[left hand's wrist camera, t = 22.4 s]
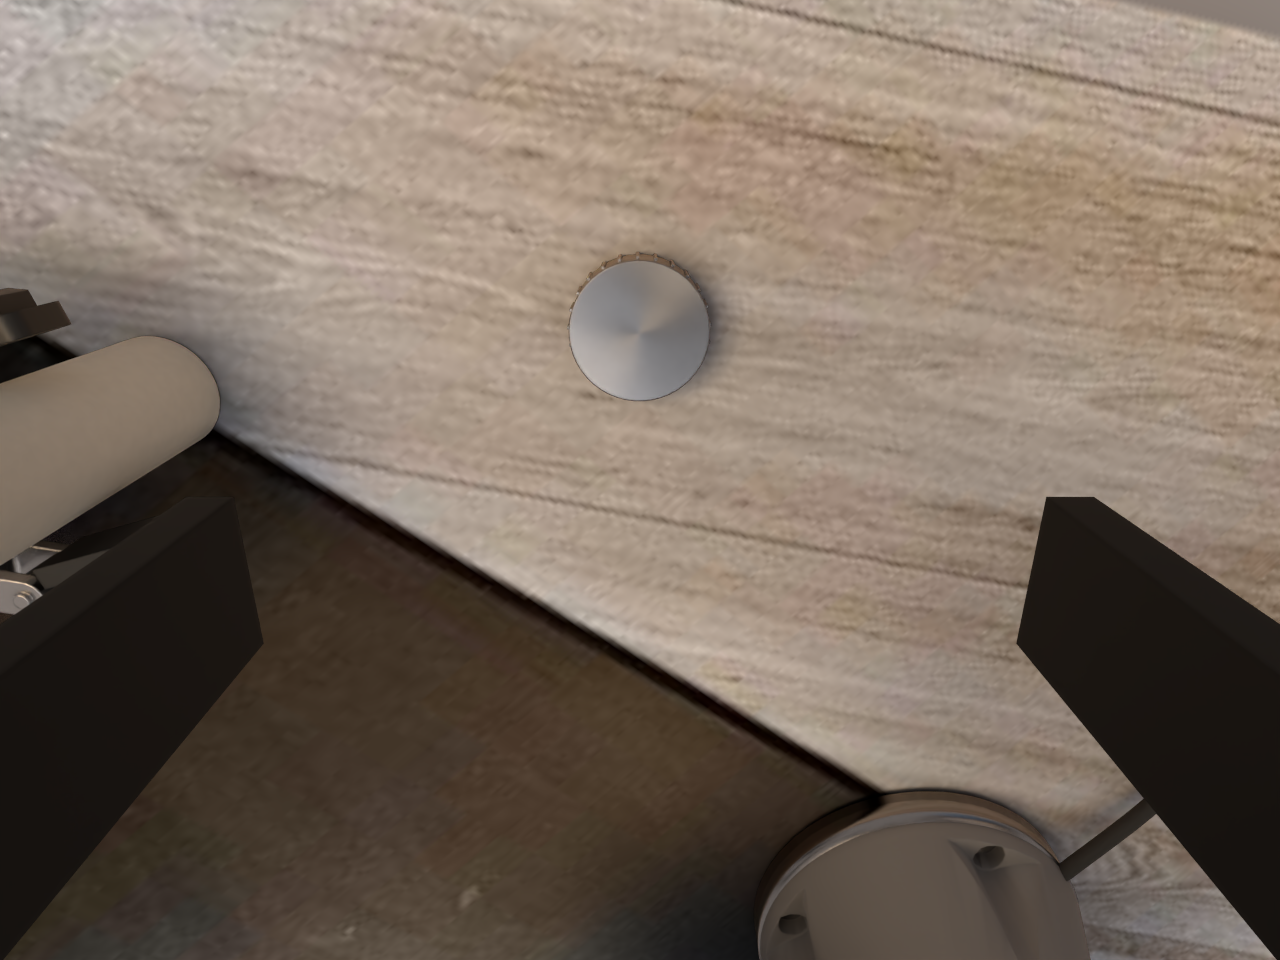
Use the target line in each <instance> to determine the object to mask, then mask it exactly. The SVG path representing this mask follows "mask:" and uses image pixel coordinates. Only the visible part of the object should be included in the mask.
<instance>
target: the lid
mask: <svg viewBox="0 0 1280 960" xmlns="http://www.w3.org/2000/svg"><path fill="white" fill-rule="evenodd" d="M699 292H701V290H700V288H699V286H698V284H697V283H696V284H694V282H693V281H692V280H691V278H690V276H689V274H688V272H687V271H686V270H684V271H683V270H682V269H680V268H679V267H678V266H676V265H675V264H674V262H673V260H670V261H667V260H665V259H663V258H660V257H657V254H654V255H646V254H639V252H636V254H633V255H626V256H622V254H621V255H619V256H618V258H616V259H614V260H611V261H609V262H607V263H606V262H605V261H604V262H603V263H602V265H601V267H600V268H598V269H597V270H596V271H595V272H594V273H592V272H590V273H589V275H588V277H587V281H586V282H585V283H584V285H583V286H582V287H581V286H580V287H579V289H578V291H577V293H576V295H578V296H577V298H576V300H575V302H573V304H572V306H571V308H570V312H571V315H570V320H569V324H568V326H567V329H569V340H570V344H569V345H570V347H571V350H572V353H573V356H574V358H575V361H576V363H577V365H578V366H579V368H580V369H581V371H582V372H583V374H584V375H585V376H586V377H587V379H589V380H590V381H591V382H592V383H593V384H594V385H595V386H596V387H598V388H599V389H601V390H602V391H604V392H606V393H608V394H609V395H612V396H614V397H617V398H621V399H624V400H631V401H648V400H654V399H658V398H662V397H664V396H667V395H669V394H671V393H673V392H675V391H677V390H678V389H680V388H681V387H682V386H684V385H685V384H686V383H687V382H688V381H689V380H690V379H691V378H692V377H693V376H694V375H695V373H696V372H697V371H698V369H699V367H700V366H701V364H702V362H703V360H704V359H705V355H706V352H707V349H708V345H709V344H710V326H711V322H710V319H709V317H708V312H707V308H708V305H707V303H706V301H705V299H702V297H701V295H700V293H699Z"/></svg>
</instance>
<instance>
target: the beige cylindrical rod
mask: <svg viewBox="0 0 1280 960" xmlns="http://www.w3.org/2000/svg"><path fill="white" fill-rule="evenodd" d="M219 410H220V397H219V391H218V388H217V385H216V382H215V380H214V378H213V376H212V374H211V372H210V371H209V369H208V368H207V367H206V365H205V364H204V363H203V362H202V361H201V360H200V359H199V358H198V357H197V356H196V355H195V354H194V353H193V352H191V351H190V350H188V349H187V348H185V347H184V346H182V345H180V344H178V343H176V342H174V341H171V340H168V339H165V338H161V337H155V336H140V337H135V338H131V339H129V340H126V341H123V342H120V343H117V344H114V345H111V346H108V347H105V348H102V349H99V350H96V351H94V352H91V353H88V354H85V355H82V356H79V357H76V358H73V359H70V360H67V361H64V362H61V363H59V364H56V365H53V366H50V367H47V368H44V369H41V370H38V371H35V372H32V373H29V374H27V375H24V376H21V377H18V378H15V379H12V380H9V381H6V382H3V383H0V565H2V564H4V563H5V562H7V561H8V560H10V559H12V558H13V557H15V556H16V555H18V554H20V553H21V552H23V551H24V550H26V549H27V548H29V547H31V546H32V545H34V544H35V543H37V542H39V541H40V540H42V539H43V538H45V537H47V536H48V535H50V534H51V533H53V532H55V531H56V530H58V529H59V528H61V527H63V526H64V525H66V524H67V523H69V522H71V521H72V520H74V519H75V518H77V517H78V516H80V515H82V514H83V513H85V512H86V511H88V510H90V509H91V508H93V507H94V506H96V505H98V504H99V503H101V502H102V501H104V500H106V499H107V498H109V497H110V496H112V495H114V494H115V493H117V492H118V491H120V490H121V489H123V488H125V487H126V486H128V485H129V484H131V483H133V482H134V481H136V480H137V479H139V478H141V477H142V476H144V475H145V474H147V473H149V472H150V471H152V470H153V469H155V468H157V467H158V466H160V465H161V464H163V463H165V462H166V461H168V460H169V459H171V458H172V457H174V456H176V455H177V454H179V453H180V452H182V451H184V450H185V449H187V448H188V447H190V446H192V445H193V444H195V443H196V442H198V441H200V440H201V439H202V438H204V437H205V436H206V435H207V434H208V433H209V432H210V431H211V430H212V428H213V427H214V425H215V423H216V421H217V419H218V415H219Z"/></svg>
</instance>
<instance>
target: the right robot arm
mask: <svg viewBox="0 0 1280 960" xmlns="http://www.w3.org/2000/svg"><path fill="white" fill-rule="evenodd" d="M68 325H71V322H70V320H69V319H68V317H67V315H66V313H65V312H64V310H63V308H62V306H61V305H60V303H59V301H56V302H51V303H47V304H43V305H39V306H37V305H36V303H35V301H34V300H33V298H32V296H31V294H30V293H29V291H28V290H24V289H13V288H6V289H1V290H0V347H1V346H4V345H7V344H11V343H14V342H17V341H20V340H23V339H26V338H30V337H33V336H36V335H39V334H42V333H46V332H49V331H52V330H55V329H58V328H61V327H65V326H68ZM156 517H158V516H155V517H152V518H148V519H145V520H141V521H138V522H134V523H131V524H127V525H124V526H120V527H116V528H113V529H109V530H106V531H102V532H99V533H95V534H92V535H88V536H85V537H81V538H80V539H78V540H77V541H76V542H74V543H73V544H71V545H70V544H64V543H58V542H52V541H46V540H40V541H39V542H37V543H35V544H34V545H32V546H31V547H29V548H27V549H26V550H24V551H23V552H21V553H20V554H18V555H16V556H15V557H13V558H12V559H10V560H8V561H7V562H5V563H4V564H2V565H0V612H2V613H8V614H16V613H18V612H19V611H20V610H22V609H23V608H25V607H26V606H28V605H29V604H31V603H32V602H34V601H35V600H36V599H38V598H39V597H41V596H42V595H44V594H45V593H47V592H48V591H50V590H51V589H53V588H54V587H55V586H57V585H58V584H60V583H61V582H63V581H64V580H66V579H67V578H69V577H70V576H72V575H73V574H74V573H76V572H77V571H79V570H80V569H82V568H83V567H85V566H86V565H88V564H89V563H91V562H92V561H93V560H95V559H96V558H98V557H99V556H101V555H102V554H104V553H105V552H107V551H108V550H109V549H111V548H112V547H114V546H115V545H117V544H118V543H120V542H121V541H123V540H124V539H126V538H127V537H128V536H130V535H131V534H133V533H134V532H136V531H137V530H139V529H140V528H142V527H143V526H145V525H146V524H147V523H149V522H150V521H152V520H153V519H155V518H156Z"/></svg>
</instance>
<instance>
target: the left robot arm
mask: <svg viewBox="0 0 1280 960" xmlns="http://www.w3.org/2000/svg"><path fill="white" fill-rule="evenodd" d="M263 644H264V643H263V638H262V633H261V628H260V624H259V619H258V614H257V609H256V604H255V599H254V594H253V589H252V584H251V580H250V575H249V570H248V565H247V560H246V555H245V550H244V545H243V541H242V536H241V531H240V526H239V521H238V516H237V511H236V506H235V501H234V497H185V498H184V499H182V500H181V501H180V502H178V503H177V504H175V505H174V506H172V507H171V508H169V509H168V510H166V511H165V512H164V513H162V514H161V515H159V516H158V517H156V518H155V519H153V520H152V521H150V522H149V523H147V524H146V525H145V526H143V527H142V528H140V529H139V530H137V531H136V532H134V533H133V534H131V535H130V536H128V537H127V538H126V539H124V540H123V541H121V542H120V543H118V544H117V545H115V546H114V547H112V548H111V549H109V550H108V551H107V552H105V553H104V554H102V555H101V556H99V557H98V558H96V559H95V560H93V561H92V562H91V563H89V564H88V565H86V566H85V567H83V568H82V569H80V570H79V571H77V572H76V573H74V574H73V575H72V576H70V577H69V578H67V579H66V580H64V581H63V582H61V583H60V584H58V585H57V586H55V587H54V588H53V589H51V590H50V591H48V592H47V593H45V594H44V595H42V596H41V597H39V598H38V599H36V600H35V601H34V602H32V603H31V604H29V605H28V606H26V607H25V608H23V609H22V610H20V611H19V612H18V613H16V614H15V615H13V616H12V617H10V618H9V619H7V620H6V621H4V622H3V623H1V624H0V960H3V959H4V958H5V957H6V956H7V954H8V953H9V952H10V951H11V950H12V948H13V947H14V946H15V945H16V944H17V942H18V941H19V940H20V939H21V937H22V936H23V935H24V934H25V933H26V931H27V930H28V929H29V928H30V927H31V925H32V924H33V923H34V922H35V920H36V919H37V918H38V917H39V916H40V914H41V913H42V912H43V911H44V910H45V908H46V907H47V906H48V905H49V903H50V902H51V901H52V900H53V899H54V897H55V896H56V895H57V894H58V893H59V891H60V890H61V889H62V888H63V886H64V885H65V884H66V883H67V882H68V880H69V879H70V878H71V877H72V876H73V874H74V873H75V872H76V871H77V869H78V868H79V867H80V866H81V865H82V863H83V862H84V861H85V860H86V859H87V857H88V856H89V855H90V854H91V852H92V851H93V850H94V849H95V848H96V846H97V845H98V844H99V843H100V842H101V840H102V839H103V838H104V837H105V835H106V834H107V833H108V832H109V831H110V829H111V828H112V827H113V826H114V825H115V823H116V822H117V821H118V820H119V818H120V817H121V816H122V815H123V814H124V812H125V811H126V810H127V809H128V807H129V806H130V805H131V804H132V803H133V801H134V800H135V799H136V798H137V797H138V795H139V794H140V793H141V792H142V790H143V789H144V788H145V787H146V786H147V784H148V783H149V782H150V781H151V780H152V778H153V777H154V776H155V775H156V773H157V772H158V771H159V770H160V769H161V767H162V766H163V765H164V764H165V763H166V761H167V760H168V759H169V758H170V756H171V755H172V754H173V753H174V752H175V750H176V749H177V748H178V747H179V746H180V744H181V743H182V742H183V741H184V739H185V738H186V737H187V736H188V735H189V733H190V732H191V731H192V730H193V729H194V727H195V726H196V725H197V724H198V722H199V721H200V720H201V719H202V718H203V716H204V715H205V714H206V713H207V712H208V710H209V709H210V708H211V707H212V705H213V704H214V703H215V702H216V701H217V699H218V698H219V697H220V696H221V695H222V693H223V692H224V691H225V690H226V688H227V687H228V686H229V685H230V684H231V682H232V681H233V680H234V679H235V678H236V676H237V675H238V674H239V673H240V671H241V670H242V669H243V668H244V667H245V665H246V664H247V663H248V662H249V661H250V659H251V658H252V657H253V656H254V654H255V653H256V652H257V651H258V650H259V648H260V647H261V646H262V645H263ZM1016 644H1017V645H1018V646H1019V647H1020V648H1021V650H1022V651H1023V652H1024V653H1025V654H1026V656H1027V657H1028V658H1029V659H1030V661H1031V662H1032V663H1033V664H1034V665H1035V667H1036V668H1037V669H1038V670H1039V671H1040V673H1041V674H1042V675H1043V676H1044V678H1045V679H1046V680H1047V681H1048V682H1049V684H1050V685H1051V686H1052V687H1053V688H1054V690H1055V691H1056V692H1057V693H1058V695H1059V696H1060V697H1061V698H1062V699H1063V701H1064V702H1065V703H1066V704H1067V705H1068V707H1069V708H1070V709H1071V710H1072V712H1073V713H1074V714H1075V715H1076V716H1077V718H1078V719H1079V720H1080V721H1081V722H1082V724H1083V725H1084V726H1085V727H1086V729H1087V730H1088V731H1089V732H1090V733H1091V735H1092V736H1093V737H1094V738H1095V739H1096V741H1097V742H1098V743H1099V744H1100V746H1101V747H1102V748H1103V749H1104V750H1105V752H1106V753H1107V754H1108V755H1109V756H1110V758H1111V759H1112V760H1113V761H1114V763H1115V764H1116V765H1117V766H1118V767H1119V769H1120V770H1121V771H1122V772H1123V773H1124V775H1125V776H1126V777H1127V778H1128V780H1129V781H1130V782H1131V783H1132V784H1133V786H1134V787H1135V788H1136V789H1137V790H1138V792H1139V793H1140V794H1141V795H1142V797H1143V798H1144V799H1143V800H1142V801H1141V802H1139V803H1138V804H1137V805H1136V806H1135V807H1133V808H1132V809H1131V810H1130V811H1128V812H1127V813H1126V814H1125V815H1123V816H1122V817H1121V818H1120V819H1118V820H1117V821H1116V822H1114V823H1113V824H1112V825H1110V826H1109V827H1108V828H1106V829H1105V830H1104V831H1102V832H1101V833H1100V834H1099V835H1097V836H1096V837H1094V838H1093V839H1092V840H1090V841H1089V842H1088V843H1086V844H1085V845H1084V846H1082V847H1081V848H1080V849H1078V850H1077V851H1076V852H1074V853H1073V854H1072V855H1070V856H1069V857H1068V858H1066V859H1065V860H1064V861H1062V862H1061V863H1060V862H1059V860H1058V859H1057V857H1056V855H1055V854H1054V852H1053V850H1052V849H1051V847H1050V846H1049V844H1048V843H1047V841H1046V840H1045V838H1044V837H1043V836H1042V835H1041V834H1040V833H1039V832H1038V830H1037V829H1036V828H1034V827H1033V826H1032V825H1031V824H1030V823H1029V822H1028V821H1026V820H1025V819H1023V818H1022V817H1020V816H1019V815H1017V814H1016V813H1014V812H1012V811H1010V810H1008V809H1007V808H1005V807H1002V806H1000V805H998V804H995V803H993V802H990V801H987V800H984V799H981V798H977V797H973V796H968V795H964V794H957V793H950V792H936V791H920V792H906V793H897V794H891V795H885V796H880V797H876V798H872V799H868V800H865V801H862V802H858V803H855V804H852V805H850V806H847V807H845V808H842V809H840V810H838V811H835V812H833V813H831V814H829V815H827V816H825V817H823V818H822V819H820V820H818V821H817V822H815V823H814V824H812V825H810V826H809V827H807V828H806V829H805V830H803V831H802V832H801V833H799V834H798V835H797V836H796V837H795V838H793V839H792V840H791V841H790V842H789V843H788V844H787V845H786V846H785V847H784V848H783V849H782V850H781V851H780V852H779V853H778V855H777V856H776V857H775V858H774V860H773V861H772V862H771V864H770V865H769V867H768V869H767V870H766V872H765V874H764V876H763V878H762V880H761V882H760V884H759V887H758V891H757V894H756V898H755V904H754V925H755V932H756V939H757V946H758V952H759V959H760V960H1091V959H1090V955H1089V950H1088V946H1087V941H1086V936H1085V932H1084V927H1083V922H1082V918H1081V913H1080V908H1079V905H1078V899H1077V896H1076V893H1075V889H1074V887H1073V885H1072V883H1071V881H1070V879H1071V878H1073V877H1074V876H1075V875H1077V874H1078V873H1080V872H1081V871H1082V870H1084V869H1085V868H1086V867H1088V866H1089V865H1090V864H1092V863H1093V862H1094V861H1096V860H1097V859H1098V858H1100V857H1101V856H1102V855H1104V854H1105V853H1107V852H1108V851H1109V850H1111V849H1112V848H1113V847H1115V846H1116V845H1117V844H1119V843H1120V842H1121V841H1123V840H1124V839H1125V838H1126V837H1128V836H1129V835H1130V834H1132V833H1133V832H1134V831H1136V830H1137V829H1138V828H1139V827H1141V826H1142V825H1143V824H1144V823H1146V822H1147V821H1148V820H1149V819H1150V818H1152V817H1153V816H1154V815H1155V814H1157V815H1158V816H1159V817H1160V818H1161V820H1162V821H1163V822H1164V823H1165V825H1166V826H1167V827H1168V828H1169V829H1170V831H1171V832H1172V833H1173V834H1174V835H1175V837H1176V838H1177V839H1178V840H1179V842H1180V843H1181V844H1182V845H1183V846H1184V848H1185V849H1186V850H1187V851H1188V852H1189V854H1190V855H1191V856H1192V857H1193V859H1194V860H1195V861H1196V862H1197V863H1198V865H1199V866H1200V867H1201V868H1202V869H1203V871H1204V872H1205V873H1206V874H1207V876H1208V877H1209V878H1210V879H1211V880H1212V882H1213V883H1214V884H1215V885H1216V886H1217V888H1218V889H1219V890H1220V891H1221V893H1222V894H1223V895H1224V896H1225V897H1226V899H1227V900H1228V901H1229V902H1230V903H1231V905H1232V906H1233V907H1234V908H1235V910H1236V911H1237V912H1238V913H1239V914H1240V916H1241V917H1242V918H1243V919H1244V920H1245V922H1246V923H1247V924H1248V925H1249V927H1250V928H1251V929H1252V930H1253V931H1254V933H1255V934H1256V935H1257V936H1258V937H1259V939H1260V940H1261V941H1262V942H1263V944H1264V945H1265V946H1266V947H1267V948H1268V950H1269V951H1270V952H1271V953H1272V954H1273V956H1274V957H1275V958H1276V959H1277V960H1280V624H1279V623H1277V622H1276V621H1274V620H1273V619H1271V618H1270V617H1268V616H1267V615H1265V614H1264V613H1262V612H1261V611H1260V610H1258V609H1257V608H1255V607H1254V606H1252V605H1251V604H1249V603H1248V602H1246V601H1245V600H1244V599H1242V598H1241V597H1239V596H1238V595H1236V594H1235V593H1233V592H1232V591H1230V590H1229V589H1227V588H1226V587H1225V586H1223V585H1222V584H1220V583H1219V582H1217V581H1216V580H1214V579H1213V578H1211V577H1210V576H1208V575H1207V574H1206V573H1204V572H1203V571H1201V570H1200V569H1198V568H1197V567H1195V566H1194V565H1192V564H1191V563H1189V562H1188V561H1187V560H1185V559H1184V558H1182V557H1181V556H1179V555H1178V554H1176V553H1175V552H1173V551H1172V550H1171V549H1169V548H1168V547H1166V546H1165V545H1163V544H1162V543H1160V542H1159V541H1157V540H1156V539H1154V538H1153V537H1152V536H1150V535H1149V534H1147V533H1146V532H1144V531H1143V530H1141V529H1140V528H1138V527H1137V526H1135V525H1134V524H1133V523H1131V522H1130V521H1128V520H1127V519H1125V518H1124V517H1122V516H1121V515H1119V514H1118V513H1116V512H1115V511H1114V510H1112V509H1111V508H1109V507H1108V506H1106V505H1105V504H1103V503H1102V502H1100V501H1099V500H1098V499H1096V498H1095V497H1046V501H1045V506H1044V511H1043V516H1042V521H1041V526H1040V531H1039V536H1038V541H1037V545H1036V550H1035V555H1034V560H1033V565H1032V570H1031V575H1030V580H1029V584H1028V589H1027V594H1026V599H1025V604H1024V609H1023V614H1022V619H1021V623H1020V628H1019V633H1018V638H1017V643H1016Z"/></svg>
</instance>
